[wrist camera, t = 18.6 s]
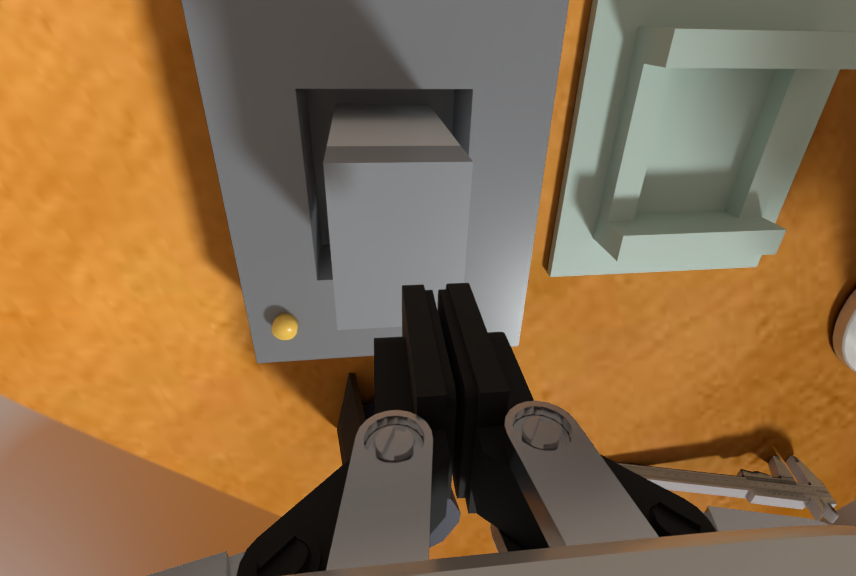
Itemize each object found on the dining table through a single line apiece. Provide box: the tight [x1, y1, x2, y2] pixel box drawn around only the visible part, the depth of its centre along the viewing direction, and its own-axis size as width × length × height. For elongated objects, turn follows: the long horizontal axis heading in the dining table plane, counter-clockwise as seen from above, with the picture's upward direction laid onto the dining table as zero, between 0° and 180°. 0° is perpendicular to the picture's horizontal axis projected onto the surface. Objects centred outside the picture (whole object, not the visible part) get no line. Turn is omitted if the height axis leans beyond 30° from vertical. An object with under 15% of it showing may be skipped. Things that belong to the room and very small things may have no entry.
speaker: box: [337, 373, 460, 548], centre depth 30 cm, size 8×6×10 cm
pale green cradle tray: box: [547, 0, 856, 277], centre depth 25 cm, size 14×16×4 cm
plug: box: [323, 104, 473, 330], centre depth 20 cm, size 4×6×10 cm
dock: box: [181, 0, 569, 363], centre depth 22 cm, size 14×18×5 cm
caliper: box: [617, 455, 839, 523], centre depth 39 cm, size 20×1×6 cm, turn 84°
